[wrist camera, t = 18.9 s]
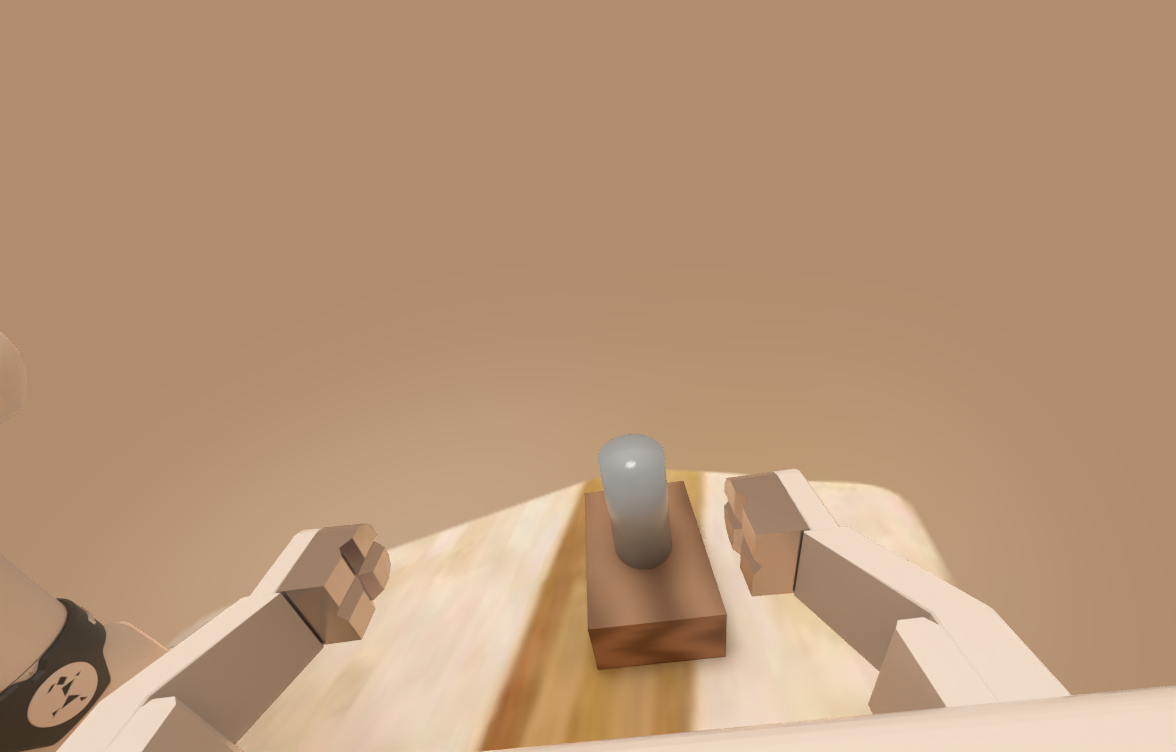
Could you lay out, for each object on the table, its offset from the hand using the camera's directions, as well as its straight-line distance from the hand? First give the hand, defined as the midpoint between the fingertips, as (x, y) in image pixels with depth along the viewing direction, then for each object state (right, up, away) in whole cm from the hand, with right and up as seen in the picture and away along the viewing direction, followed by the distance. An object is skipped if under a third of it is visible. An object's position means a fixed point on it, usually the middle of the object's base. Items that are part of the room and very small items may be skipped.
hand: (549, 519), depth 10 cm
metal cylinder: (+6, -13, +30) cm, 33 cm away
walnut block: (+7, -18, +33) cm, 38 cm away
